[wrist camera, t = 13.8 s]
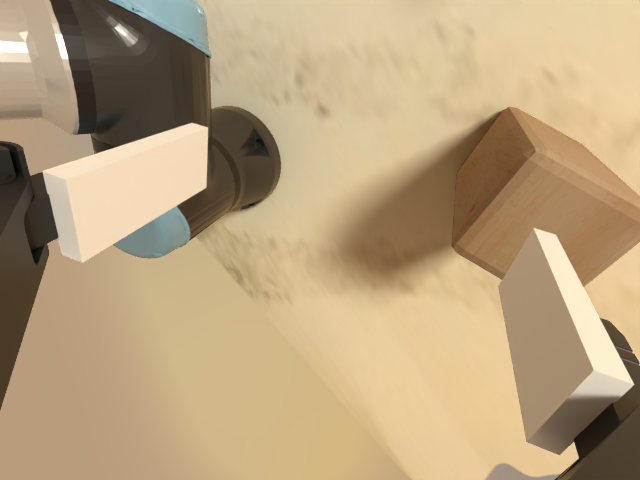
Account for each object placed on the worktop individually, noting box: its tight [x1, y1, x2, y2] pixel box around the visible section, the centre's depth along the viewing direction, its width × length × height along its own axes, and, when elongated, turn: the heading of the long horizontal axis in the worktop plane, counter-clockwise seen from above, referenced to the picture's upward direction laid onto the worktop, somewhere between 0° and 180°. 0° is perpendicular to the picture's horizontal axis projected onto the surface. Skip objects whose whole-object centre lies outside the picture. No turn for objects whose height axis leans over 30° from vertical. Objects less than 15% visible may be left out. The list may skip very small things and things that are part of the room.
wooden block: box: [452, 107, 640, 287], centre depth 35 cm, size 10×10×20 cm
